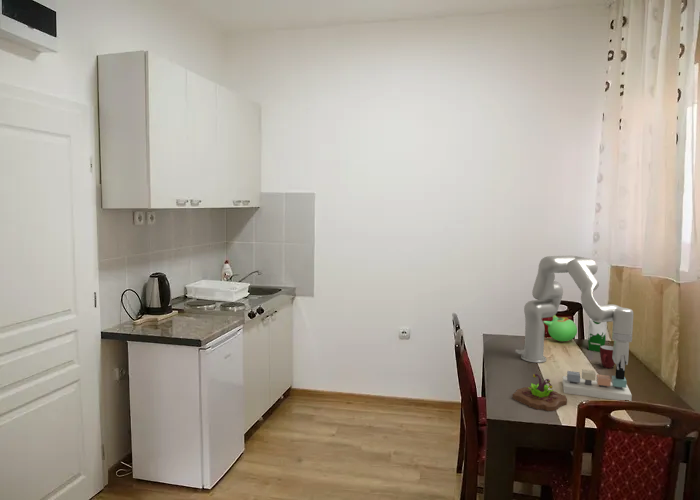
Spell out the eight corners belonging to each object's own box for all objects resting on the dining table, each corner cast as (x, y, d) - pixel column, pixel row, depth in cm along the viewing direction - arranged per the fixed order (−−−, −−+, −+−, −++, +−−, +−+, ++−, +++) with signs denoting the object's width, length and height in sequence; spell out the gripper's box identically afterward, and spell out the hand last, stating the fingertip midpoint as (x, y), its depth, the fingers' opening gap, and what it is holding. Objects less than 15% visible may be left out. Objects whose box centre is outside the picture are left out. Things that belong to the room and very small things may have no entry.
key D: (612, 392, 214) (613, 379, 214) (611, 388, 219) (611, 375, 218) (625, 394, 213) (626, 380, 212) (623, 390, 217) (624, 377, 217)
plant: (531, 388, 223) (532, 364, 222) (573, 402, 208) (575, 376, 207) (505, 399, 211) (506, 373, 210) (548, 414, 196) (549, 387, 194)
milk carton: (586, 350, 280) (588, 315, 278) (588, 346, 288) (590, 312, 286) (604, 353, 276) (606, 317, 274) (605, 349, 283) (607, 314, 281)
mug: (613, 372, 245) (614, 352, 244) (595, 368, 250) (596, 349, 249) (618, 366, 253) (619, 347, 252) (601, 363, 258) (602, 344, 257)
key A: (567, 387, 221) (567, 374, 220) (566, 383, 225) (567, 370, 225) (579, 389, 219) (580, 375, 218) (578, 385, 224) (579, 372, 223)
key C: (597, 391, 216) (597, 378, 216) (595, 387, 221) (596, 374, 221) (610, 393, 215) (610, 379, 214) (608, 389, 219) (609, 375, 219)
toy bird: (570, 346, 288) (572, 321, 286) (541, 340, 299) (542, 316, 297) (580, 340, 302) (581, 316, 300) (551, 335, 312) (552, 312, 311)
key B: (582, 385, 218) (583, 372, 218) (581, 382, 223) (582, 369, 223) (594, 387, 217) (595, 374, 216) (593, 383, 221) (594, 370, 221)
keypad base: (563, 392, 217) (564, 386, 217) (562, 382, 230) (562, 375, 230) (631, 401, 208) (631, 395, 208) (625, 390, 221) (626, 383, 221)
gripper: (610, 331, 222) (607, 372, 223) (614, 340, 208) (612, 383, 209) (629, 333, 219) (626, 374, 221) (635, 342, 205) (632, 385, 207)
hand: (619, 378), depth 215 cm, fingers closed
